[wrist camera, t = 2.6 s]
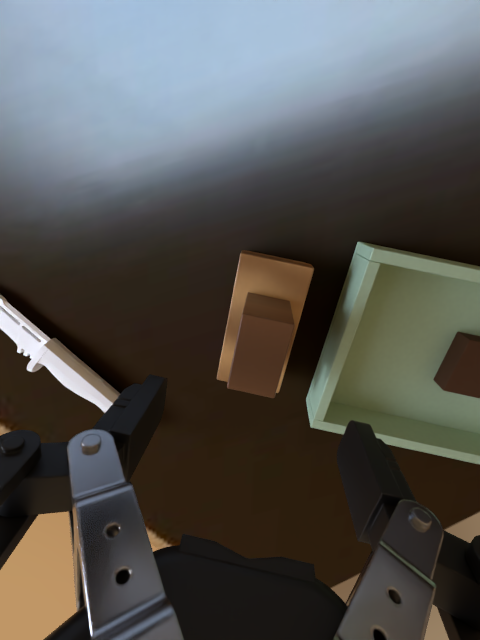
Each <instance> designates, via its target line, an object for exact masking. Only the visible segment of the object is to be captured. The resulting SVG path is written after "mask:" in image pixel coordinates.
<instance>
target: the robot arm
mask: <svg viewBox="0 0 480 640" xmlns="http://www.w3.org/2000/svg"><path fill="white" fill-rule="evenodd" d="M166 388H167V378H163V377H159V376H154V375H149V376H148V377H147V379H146V380H145V382H144V383H143V384H142V385H140V384H136V383H134V384H133V385H131V386H129V387H127V388H125V389H124V390H123V391H122V393H121V394H120V395H119V396H118V399H116V400H115V401H114V403H113V405H111V406H110V408H109V409H108V410H107V411H106V412H105V414H104V415H103V416H102V417H101V419H100V420H99V421H98V422H97V424H96V425H95V426H94V427H93V429H91V430H86V431H83V432H81V433H79V434H77V435H75V436H74V437H73V438H72V439H71V440H70V441H69V442H62V443H40V437H39V435H38V434H36V433H35V432H33V431H29V430H17V431H12V432H9V433H6V434H3V435H1V436H0V570H1V568H2V567H3V565H4V564H5V562H6V561H7V559H8V558H9V556H10V555H11V554H12V552H13V551H14V549H15V548H16V546H17V545H18V543H19V542H20V540H21V539H22V538H23V536H24V535H25V533H26V531H27V530H28V529H29V527H30V526H31V524H32V523H33V521H34V520H35V519H36V517H37V516H38V514H46V513H55V512H67V511H68V514H69V524H70V534H71V545H72V555H73V566H74V582H75V595H76V607H77V612H76V613H75V614H74V615H73V616H71V617H70V618H69V619H68V620H67V621H65V622H64V623H63V624H62V625H61V626H59V627H58V628H57V629H56V630H54V631H53V632H52V633H51V634H50V635H48V636H47V637H46V638H45V639H44V640H424V637H425V633H426V628H427V624H428V620H429V616H430V612H431V608H432V604H433V605H435V606H437V608H438V610H439V613H440V616H441V619H442V621H443V624H444V627H445V629H446V632H447V634H448V638H449V640H480V535H479V536H476V537H474V539H473V540H472V542H471V543H468V542H466V541H464V540H462V539H460V538H458V537H456V536H454V535H452V534H450V533H448V532H446V531H444V530H443V527H442V525H441V523H440V522H439V520H438V519H437V518H436V516H435V515H434V514H433V513H432V512H431V511H430V510H428V509H427V508H426V507H425V506H423V505H421V504H420V503H418V502H416V500H415V498H414V496H413V494H412V492H411V490H410V488H409V486H408V484H407V482H406V480H405V478H404V476H403V474H402V472H401V471H400V468H399V466H398V464H397V462H396V459H395V457H394V455H393V453H392V451H391V449H390V448H389V447H388V446H387V445H386V444H385V443H384V442H383V441H382V440H381V439H379V438H376V436H375V434H374V431H373V429H372V427H371V425H370V424H367V423H363V422H358V421H354V420H351V421H349V423H348V425H347V428H346V430H345V432H344V435H343V437H342V440H341V442H340V445H339V447H338V452H337V463H338V467H339V471H340V474H341V478H342V482H343V486H344V490H345V493H346V497H347V501H348V505H349V509H350V512H351V516H352V520H353V524H354V528H355V532H356V535H357V539H358V541H360V542H365V543H369V544H371V547H372V552H371V553H370V555H369V557H368V559H367V561H366V563H365V565H364V567H363V569H362V571H361V573H360V575H359V577H358V580H357V582H356V584H355V586H354V588H353V590H352V592H351V594H350V596H349V598H348V600H347V602H346V603H344V602H343V600H342V599H341V598H340V597H339V596H338V595H337V594H336V593H335V592H334V591H333V590H332V589H330V588H329V587H328V586H327V585H325V584H324V583H323V582H321V581H320V580H318V579H316V578H315V572H314V564H310V563H305V562H301V561H297V560H293V559H288V558H284V557H271V558H255V559H248V558H245V557H243V556H241V555H239V554H237V553H235V552H234V551H232V550H230V549H228V548H226V547H224V546H222V545H221V544H219V543H217V542H215V541H211V540H207V539H203V538H198V537H194V536H190V535H185V534H183V536H182V539H181V543H180V545H179V546H171V547H166V548H162V549H159V550H157V551H154V552H153V551H152V548H151V544H150V541H149V538H148V535H147V531H146V528H145V525H144V521H143V518H142V515H141V511H140V508H139V505H138V502H137V498H136V495H135V492H134V488H133V486H132V484H131V482H129V480H130V478H131V476H132V475H133V473H134V471H135V469H136V467H137V465H138V463H139V461H140V459H141V457H142V455H143V453H144V451H145V449H146V447H147V446H148V444H149V442H150V440H151V438H152V436H153V434H154V432H155V430H156V428H157V426H158V424H159V422H160V420H161V417H162V414H163V410H164V404H165V396H166Z"/></svg>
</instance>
